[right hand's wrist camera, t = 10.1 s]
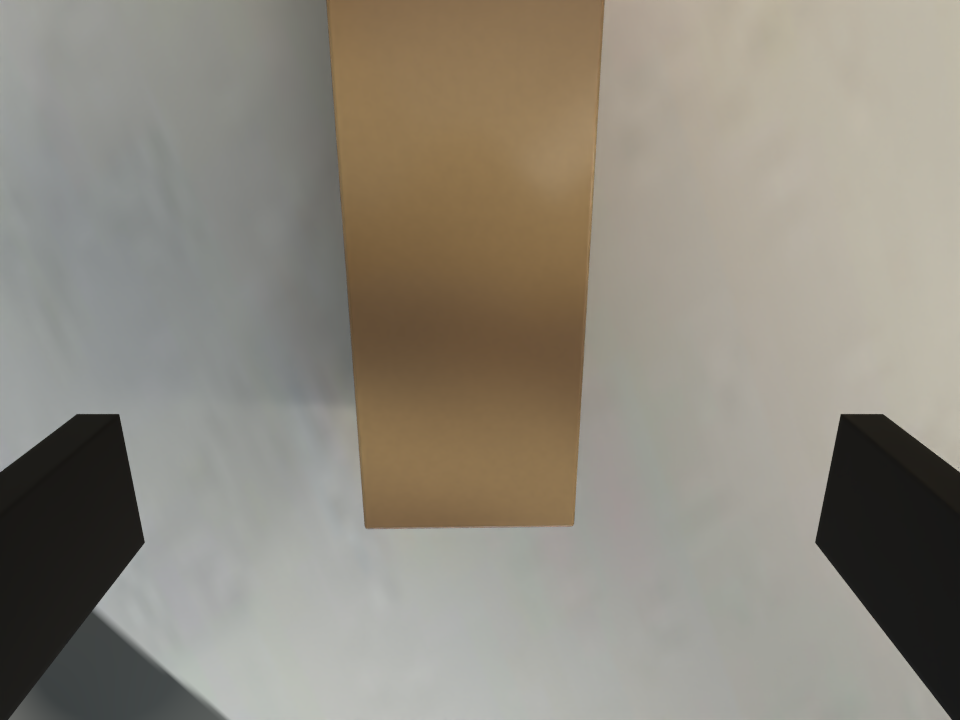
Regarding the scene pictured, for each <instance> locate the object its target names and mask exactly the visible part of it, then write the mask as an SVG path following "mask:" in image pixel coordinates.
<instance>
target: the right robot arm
mask: <svg viewBox="0 0 960 720" xmlns="http://www.w3.org/2000/svg"><path fill="white" fill-rule="evenodd" d="M144 543H145V541H144V536H143V531H142V526H141V521H140V516H139V511H138V506H137V501H136V496H135V491H134V486H133V481H132V476H131V471H130V466H129V461H128V456H127V451H126V446H125V441H124V436H123V431H122V426H121V421H120V416H119V414H77V415H75V416H74V417H73V418H71V419H70V420H69V421H67V422H66V423H65V424H63V425H62V426H61V427H60V428H58V429H57V430H56V431H54V432H53V433H52V434H50V435H49V436H48V437H46V438H45V439H44V440H42V441H41V442H40V443H38V444H37V445H36V446H34V447H33V448H32V449H31V450H29V451H28V452H27V453H25V454H24V455H23V456H21V457H20V458H19V459H17V460H16V461H15V462H13V463H12V464H11V465H9V466H8V467H7V468H5V469H4V470H3V471H2V472H0V720H8V719H9V718H10V716H11V715H12V714H13V713H14V711H15V710H16V709H17V707H18V706H19V705H20V703H21V702H22V701H23V700H24V698H25V697H26V696H27V694H28V693H29V692H30V690H31V689H32V688H33V687H34V685H35V684H36V683H37V681H38V680H39V679H40V677H41V676H42V675H43V674H44V672H45V671H46V670H47V668H48V667H49V666H50V665H51V663H52V662H53V661H54V659H55V658H56V657H57V656H58V654H59V653H60V652H61V650H62V649H63V648H64V646H65V645H66V644H67V643H68V641H69V640H70V639H71V637H72V636H73V635H74V633H75V632H76V631H77V630H78V628H79V627H80V626H81V624H82V623H83V622H84V621H85V619H86V618H87V617H88V615H89V614H90V613H91V612H92V610H93V609H94V608H95V606H96V605H97V604H98V602H99V601H100V600H101V599H102V597H103V596H104V595H105V593H106V592H107V591H108V590H109V588H110V587H111V586H112V584H113V583H114V582H115V580H116V579H117V578H118V577H119V575H120V574H121V573H122V571H123V570H124V569H125V567H126V566H127V565H128V564H129V562H130V561H131V560H132V558H133V557H134V556H135V555H136V553H137V552H138V551H139V549H140V548H141V547H142V545H143V544H144ZM815 543H816V544H817V545H818V547H819V548H820V549H821V551H822V552H823V553H824V555H825V556H826V557H827V558H828V560H829V561H830V562H831V564H832V565H833V566H834V567H835V569H836V570H837V571H838V573H839V574H840V575H841V577H842V578H843V579H844V580H845V582H846V583H847V584H848V586H849V587H850V588H851V590H852V591H853V592H854V593H855V595H856V596H857V597H858V599H859V600H860V601H861V602H862V604H863V605H864V606H865V608H866V609H867V610H868V612H869V613H870V614H871V615H872V617H873V618H874V619H875V621H876V622H877V623H878V624H879V626H880V627H881V628H882V630H883V631H884V632H885V634H886V635H887V636H888V637H889V639H890V640H891V641H892V643H893V644H894V645H895V646H896V648H897V649H898V650H899V652H900V653H901V654H902V656H903V657H904V658H905V659H906V661H907V662H908V663H909V665H910V666H911V667H912V668H913V670H914V671H915V672H916V674H917V675H918V676H919V678H920V679H921V680H922V681H923V683H924V684H925V685H926V687H927V688H928V689H929V690H930V692H931V693H932V694H933V696H934V697H935V698H936V700H937V701H938V702H939V703H940V705H941V706H942V707H943V709H944V710H945V711H946V713H947V714H948V715H949V716H950V718H951V719H952V720H960V472H958V471H957V470H956V469H955V468H953V467H952V466H951V465H949V464H948V463H947V462H945V461H944V460H943V459H941V458H940V457H939V456H937V455H936V454H935V453H933V452H932V451H931V450H929V449H928V448H927V447H926V446H924V445H923V444H922V443H920V442H919V441H918V440H916V439H915V438H914V437H912V436H911V435H910V434H908V433H907V432H906V431H904V430H903V429H902V428H900V427H899V426H898V425H897V424H895V423H894V422H893V421H891V420H890V419H889V418H887V417H886V416H885V415H883V414H841V416H840V421H839V426H838V431H837V436H836V441H835V446H834V451H833V456H832V461H831V466H830V471H829V476H828V481H827V486H826V491H825V496H824V501H823V506H822V511H821V516H820V521H819V526H818V531H817V536H816V541H815Z"/></svg>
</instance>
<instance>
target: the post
mask: <svg viewBox="0 0 960 720" xmlns="http://www.w3.org/2000/svg"><path fill="white" fill-rule="evenodd" d="M326 4H327V18H328V32H329V45H330V59H331V73H332V86H333V100H334V114H335V127H336V141H337V155H338V169H339V182H340V196H341V210H342V223H343V237H344V251H345V264H346V278H347V292H348V305H349V319H350V333H351V346H352V360H353V374H354V387H355V401H356V415H357V428H358V442H359V456H360V469H361V483H362V497H363V510H364V524H365V527H366V529H413V528H495V527H571V526H573V524H574V516H575V499H576V482H577V465H578V447H579V430H580V413H581V396H582V379H583V361H584V344H585V327H586V310H587V293H588V275H589V258H590V241H591V224H592V207H593V189H594V172H595V155H596V138H597V121H598V103H599V86H600V69H601V52H602V35H603V17H604V0H326Z"/></svg>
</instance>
